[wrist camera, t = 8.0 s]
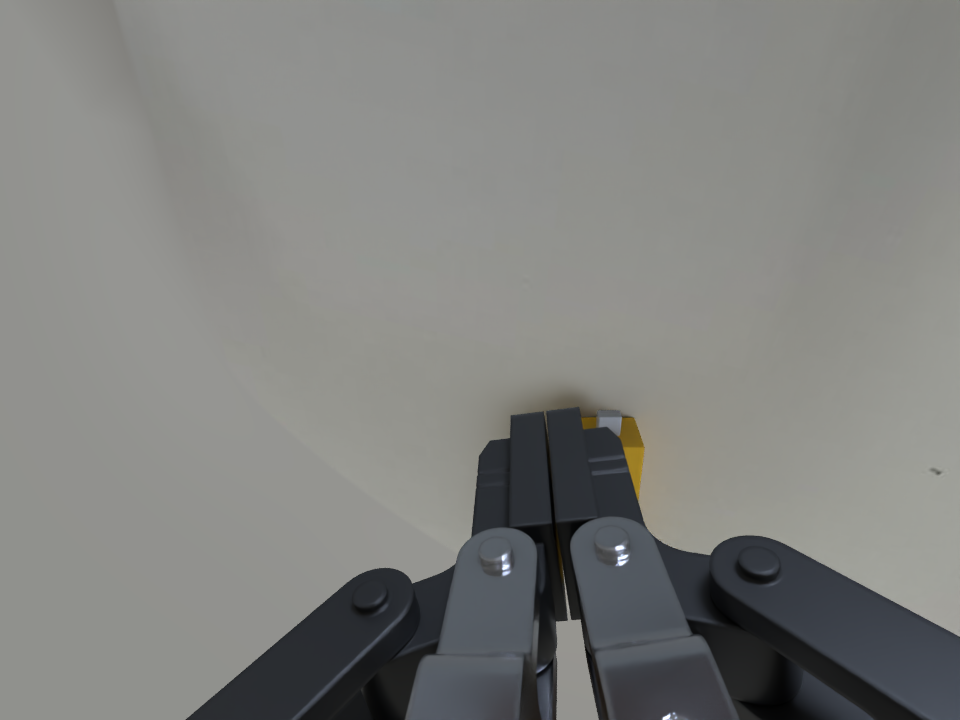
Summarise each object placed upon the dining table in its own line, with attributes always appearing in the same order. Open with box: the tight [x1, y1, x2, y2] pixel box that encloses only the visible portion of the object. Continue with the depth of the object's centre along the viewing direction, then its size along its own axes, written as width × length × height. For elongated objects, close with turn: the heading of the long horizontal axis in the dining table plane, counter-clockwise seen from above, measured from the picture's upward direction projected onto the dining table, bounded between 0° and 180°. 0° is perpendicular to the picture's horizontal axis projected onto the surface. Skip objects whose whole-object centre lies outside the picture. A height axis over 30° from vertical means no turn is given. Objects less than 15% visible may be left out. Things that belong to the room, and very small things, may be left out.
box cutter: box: [581, 410, 645, 499], centre depth 28 cm, size 9×3×2 cm, turn 1°
